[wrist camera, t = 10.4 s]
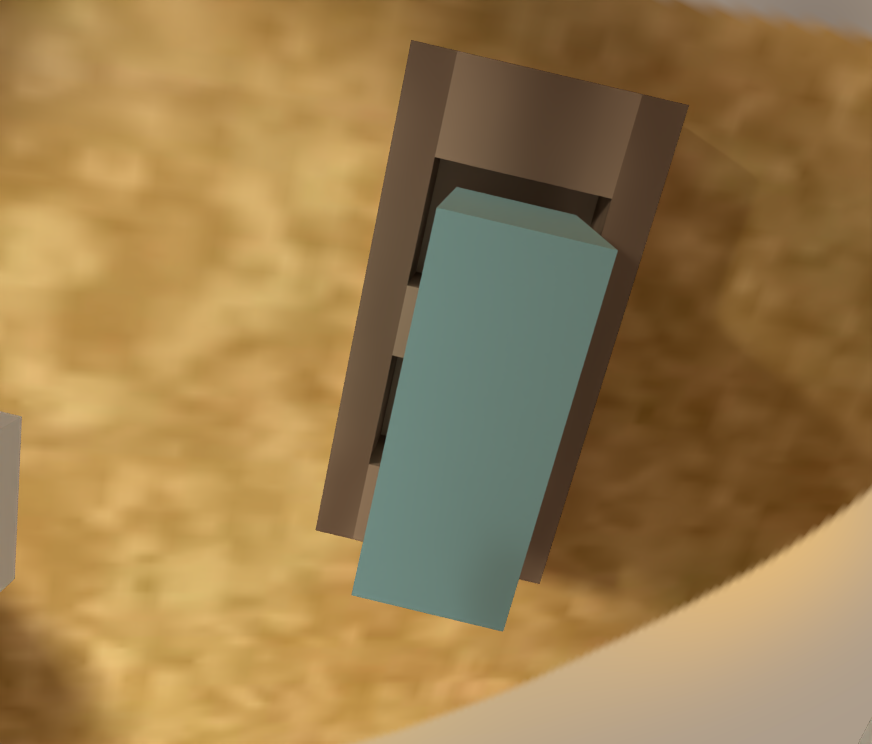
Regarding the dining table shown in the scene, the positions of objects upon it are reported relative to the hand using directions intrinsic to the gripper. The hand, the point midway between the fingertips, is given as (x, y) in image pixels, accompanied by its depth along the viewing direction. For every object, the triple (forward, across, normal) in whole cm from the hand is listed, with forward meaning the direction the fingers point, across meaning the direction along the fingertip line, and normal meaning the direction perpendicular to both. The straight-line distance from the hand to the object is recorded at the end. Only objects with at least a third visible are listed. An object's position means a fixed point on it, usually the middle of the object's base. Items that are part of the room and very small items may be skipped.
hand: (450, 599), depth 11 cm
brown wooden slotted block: (+20, 0, 0) cm, 20 cm away
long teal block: (+19, 0, 0) cm, 19 cm away
